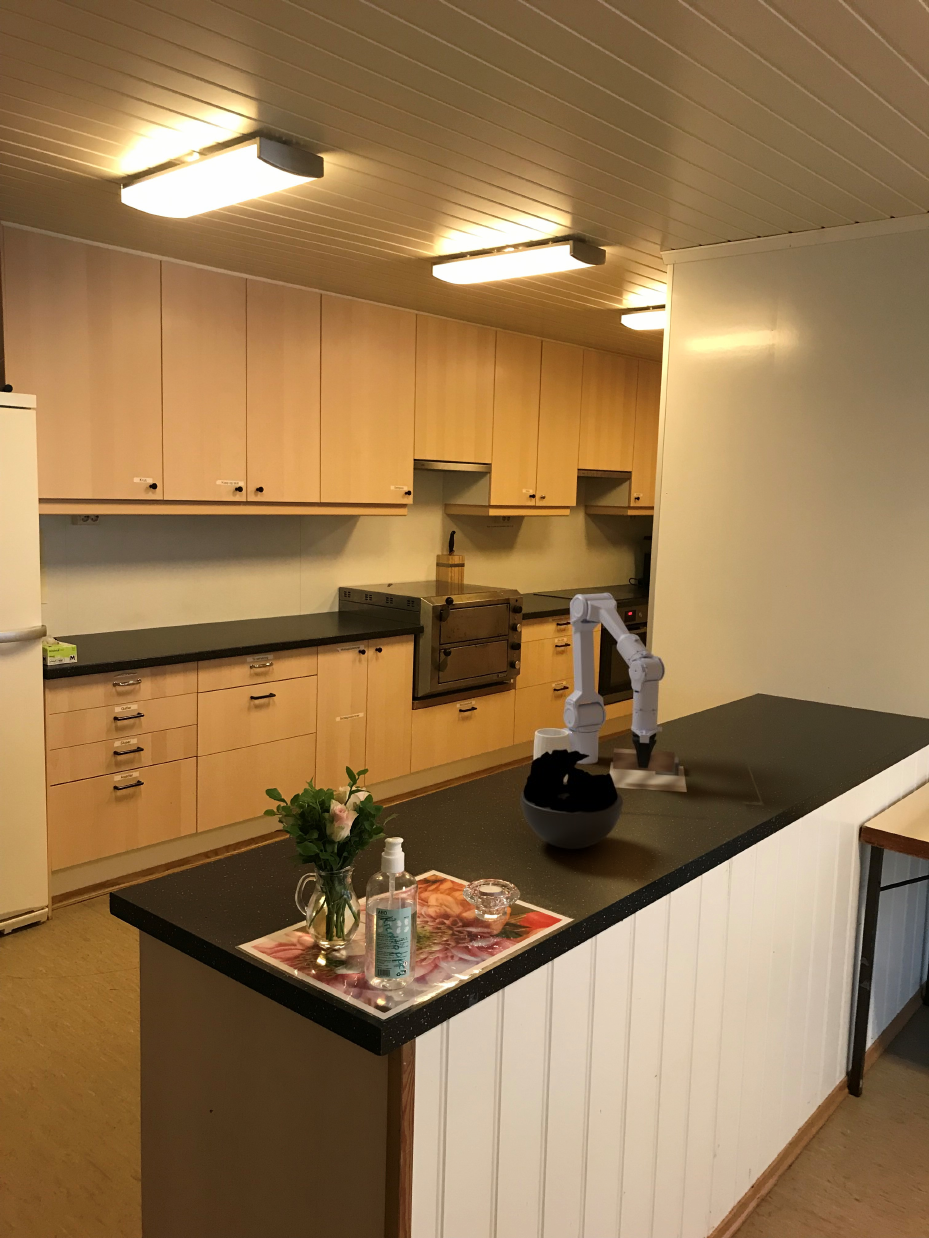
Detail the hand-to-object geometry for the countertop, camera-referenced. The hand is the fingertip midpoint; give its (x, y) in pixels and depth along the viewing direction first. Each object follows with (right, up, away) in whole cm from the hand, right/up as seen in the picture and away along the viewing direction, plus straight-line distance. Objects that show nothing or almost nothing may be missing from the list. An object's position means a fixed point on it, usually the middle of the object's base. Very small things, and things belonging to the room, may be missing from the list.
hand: (643, 765), depth 231 cm
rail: (0, -1, 0) cm, 1 cm away
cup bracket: (+8, -3, +12) cm, 15 cm away
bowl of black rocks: (-21, -11, -37) cm, 44 cm away
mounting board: (+2, -5, +8) cm, 9 cm away
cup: (-22, -6, -2) cm, 23 cm away
